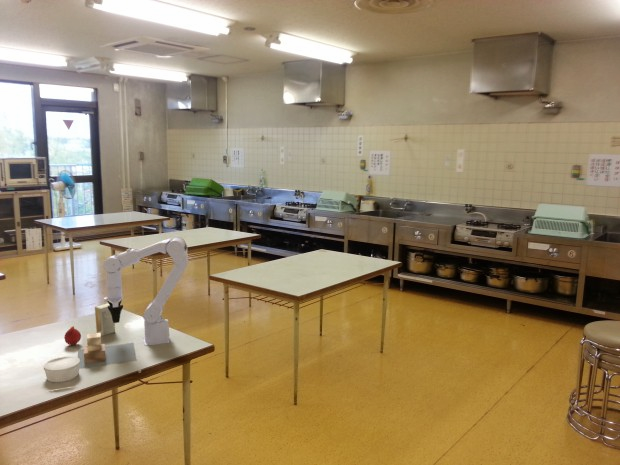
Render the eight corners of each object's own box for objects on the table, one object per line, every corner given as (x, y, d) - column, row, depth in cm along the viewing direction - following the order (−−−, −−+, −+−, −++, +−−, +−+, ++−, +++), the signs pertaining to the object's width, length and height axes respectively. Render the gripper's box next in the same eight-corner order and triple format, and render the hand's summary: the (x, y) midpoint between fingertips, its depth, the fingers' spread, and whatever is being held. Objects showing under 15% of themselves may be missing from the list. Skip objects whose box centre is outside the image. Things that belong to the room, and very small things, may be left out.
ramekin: (68, 367, 173) (67, 353, 172) (88, 375, 167) (87, 360, 166) (37, 379, 163) (36, 364, 162) (57, 388, 158) (56, 372, 157)
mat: (133, 343, 195) (133, 342, 195) (136, 361, 178) (136, 360, 178) (78, 350, 187) (78, 349, 187) (76, 370, 170) (76, 369, 170)
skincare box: (109, 329, 209) (108, 302, 207) (115, 332, 206) (114, 304, 204) (95, 334, 204) (94, 306, 202) (101, 336, 201) (100, 308, 199)
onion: (74, 349, 188) (73, 329, 187) (61, 348, 189) (60, 328, 188) (84, 343, 194) (83, 324, 192) (71, 342, 195) (70, 323, 193)
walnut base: (105, 353, 184) (104, 343, 183) (105, 361, 177) (105, 350, 177) (84, 356, 181) (84, 346, 180) (84, 364, 174) (83, 353, 174)
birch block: (101, 345, 181) (100, 332, 180) (101, 349, 177) (100, 336, 176) (88, 347, 180) (87, 334, 179) (87, 351, 176) (86, 338, 175)
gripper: (102, 282, 196) (104, 314, 198) (103, 292, 183) (105, 326, 185) (121, 281, 199) (123, 312, 201) (123, 290, 186) (125, 324, 188)
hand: (115, 319), depth 193 cm, fingers open, 7 cm apart
